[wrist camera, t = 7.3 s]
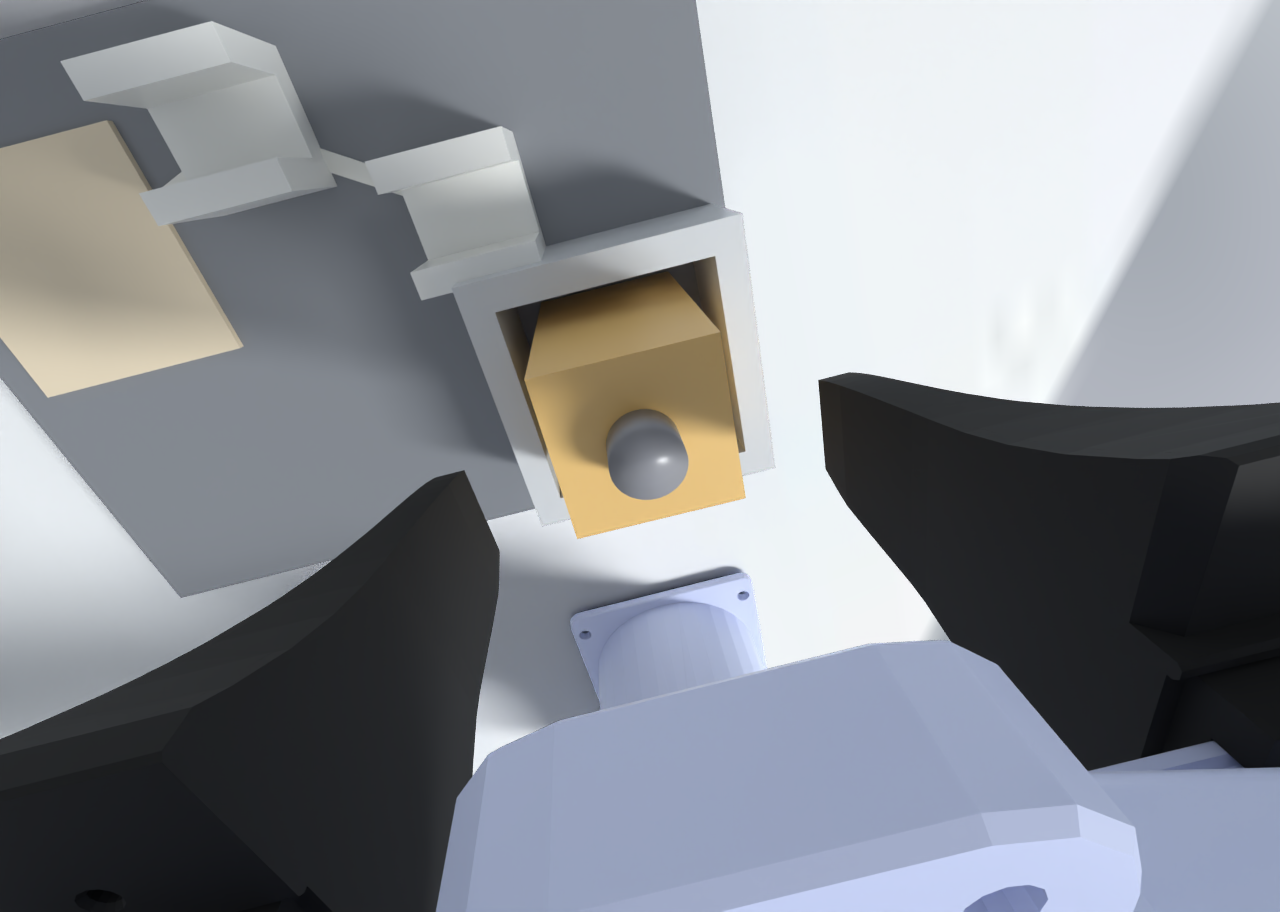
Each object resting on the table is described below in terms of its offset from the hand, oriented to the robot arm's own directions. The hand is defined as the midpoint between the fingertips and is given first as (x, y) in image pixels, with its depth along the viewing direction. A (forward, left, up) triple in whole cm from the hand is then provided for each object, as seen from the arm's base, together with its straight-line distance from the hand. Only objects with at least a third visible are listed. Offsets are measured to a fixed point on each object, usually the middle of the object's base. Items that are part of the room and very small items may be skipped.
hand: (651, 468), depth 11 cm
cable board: (+3, +7, -9) cm, 12 cm away
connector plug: (0, 0, -8) cm, 8 cm away
